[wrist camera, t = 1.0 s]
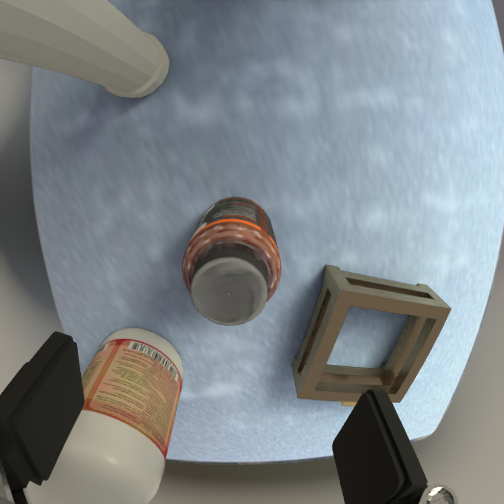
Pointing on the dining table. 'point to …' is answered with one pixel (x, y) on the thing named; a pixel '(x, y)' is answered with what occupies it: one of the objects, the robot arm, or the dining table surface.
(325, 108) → the dining table surface
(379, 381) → the collar stand
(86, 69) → the pipe
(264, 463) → the dining table surface
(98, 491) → the fruit juice
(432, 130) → the dining table surface
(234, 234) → the supplement bottle
